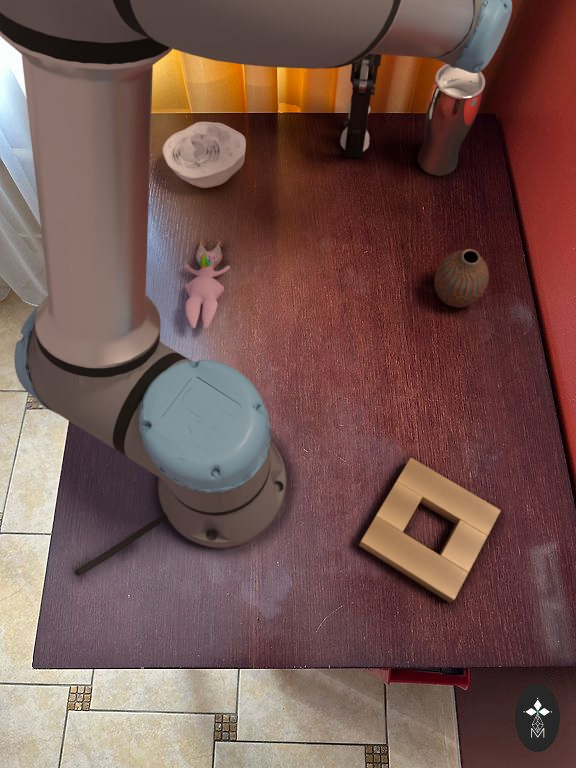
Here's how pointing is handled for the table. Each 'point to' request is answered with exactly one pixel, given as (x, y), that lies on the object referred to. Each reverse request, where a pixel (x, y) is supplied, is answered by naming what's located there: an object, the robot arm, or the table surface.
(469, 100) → the chrome pint tumbler
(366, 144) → the rook chess piece
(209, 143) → the cell model
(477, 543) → the square wooden frame
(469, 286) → the vase
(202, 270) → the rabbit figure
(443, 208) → the table surface
